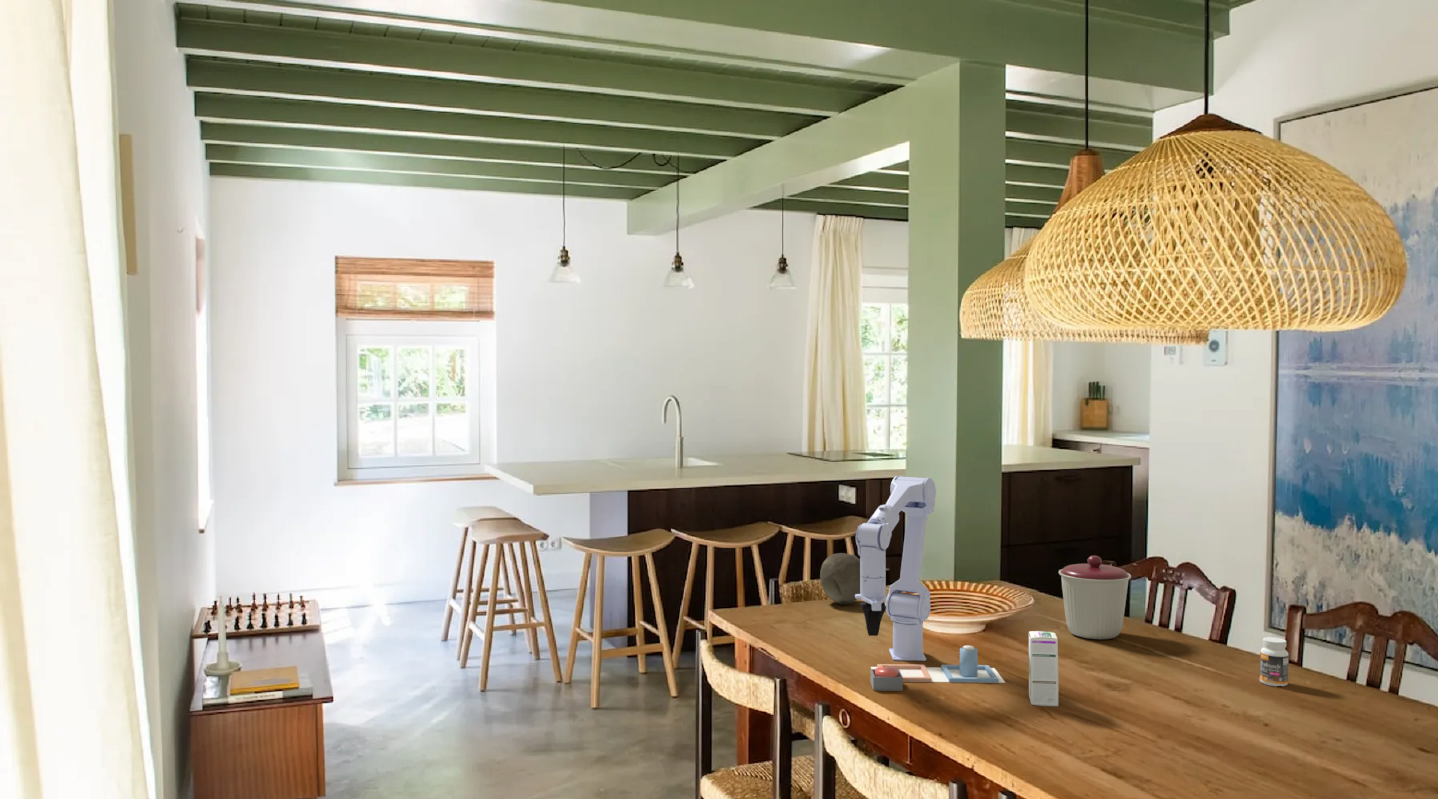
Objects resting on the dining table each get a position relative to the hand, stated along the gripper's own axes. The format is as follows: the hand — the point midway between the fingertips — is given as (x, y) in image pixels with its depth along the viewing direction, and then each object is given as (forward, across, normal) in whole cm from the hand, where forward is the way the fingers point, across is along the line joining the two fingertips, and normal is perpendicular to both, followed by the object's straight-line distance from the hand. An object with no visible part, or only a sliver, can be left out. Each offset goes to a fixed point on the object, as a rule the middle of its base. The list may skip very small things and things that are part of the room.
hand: (872, 635), depth 244 cm
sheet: (+10, -2, +15) cm, 18 cm away
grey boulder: (+11, -77, 0) cm, 77 cm away
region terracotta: (+10, -2, +7) cm, 12 cm away
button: (+8, +7, +2) cm, 11 cm away
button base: (+10, +7, +2) cm, 12 cm away
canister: (+11, -40, +63) cm, 75 cm away
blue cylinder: (+10, -2, +22) cm, 24 cm away
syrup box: (+10, +17, +34) cm, 39 cm away
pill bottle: (+10, +2, +89) cm, 90 cm away
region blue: (+10, -2, +22) cm, 24 cm away
